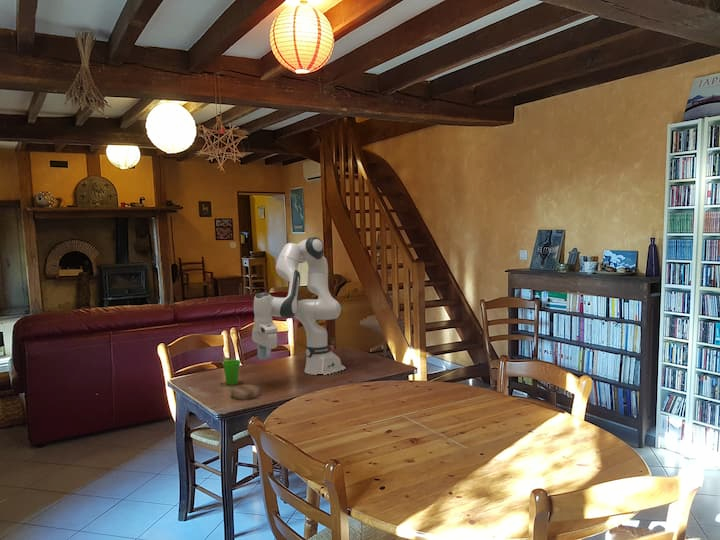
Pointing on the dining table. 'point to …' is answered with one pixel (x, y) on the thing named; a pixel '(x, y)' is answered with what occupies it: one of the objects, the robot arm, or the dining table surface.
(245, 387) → the trivet
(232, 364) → the cup
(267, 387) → the dining table surface
